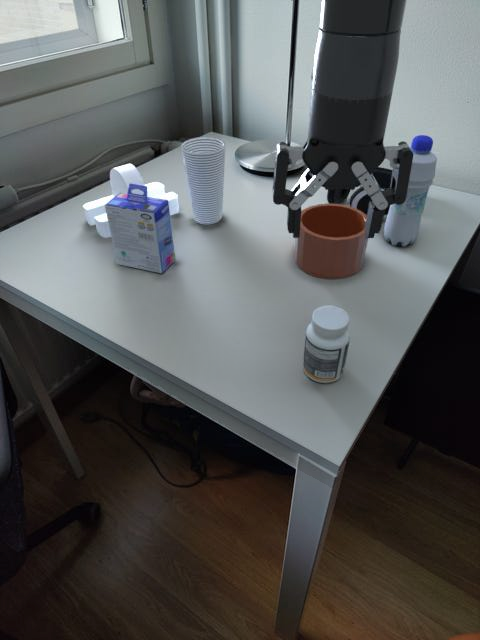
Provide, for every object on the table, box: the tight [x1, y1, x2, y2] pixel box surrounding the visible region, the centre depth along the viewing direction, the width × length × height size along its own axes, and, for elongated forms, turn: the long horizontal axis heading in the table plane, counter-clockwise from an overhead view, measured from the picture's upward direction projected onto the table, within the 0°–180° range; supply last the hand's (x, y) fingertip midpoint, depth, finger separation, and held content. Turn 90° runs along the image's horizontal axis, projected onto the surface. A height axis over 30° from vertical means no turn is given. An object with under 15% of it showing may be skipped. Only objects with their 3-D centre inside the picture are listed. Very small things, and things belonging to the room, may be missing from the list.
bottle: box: [383, 134, 438, 247], centre depth 83 cm, size 7×7×20 cm
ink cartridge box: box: [105, 184, 176, 274], centre depth 81 cm, size 10×6×14 cm, turn 70°
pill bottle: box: [302, 305, 351, 384], centre depth 62 cm, size 6×6×10 cm
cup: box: [180, 136, 226, 225], centre depth 93 cm, size 8×8×16 cm
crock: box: [293, 203, 369, 280], centre depth 83 cm, size 13×13×8 cm
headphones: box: [326, 166, 393, 217], centre depth 99 cm, size 18×8×20 cm
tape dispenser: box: [82, 163, 180, 239], centre depth 95 cm, size 10×18×11 cm, turn 127°
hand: (332, 234), depth 54 cm, fingers open, 8 cm apart
